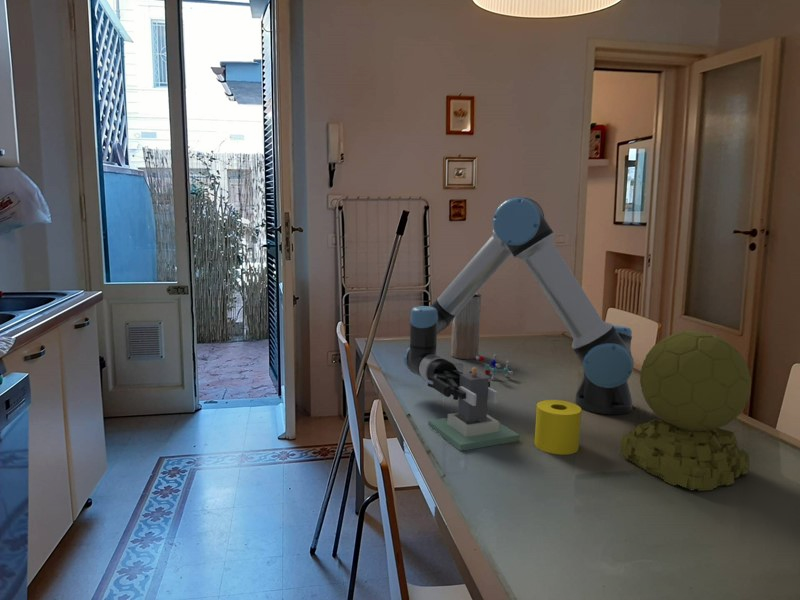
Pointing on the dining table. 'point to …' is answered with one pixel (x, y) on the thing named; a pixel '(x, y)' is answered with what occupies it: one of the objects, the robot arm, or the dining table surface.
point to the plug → (480, 387)
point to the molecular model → (494, 367)
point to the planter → (466, 330)
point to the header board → (472, 431)
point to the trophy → (691, 412)
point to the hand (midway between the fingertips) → (485, 398)
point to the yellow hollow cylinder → (557, 427)
